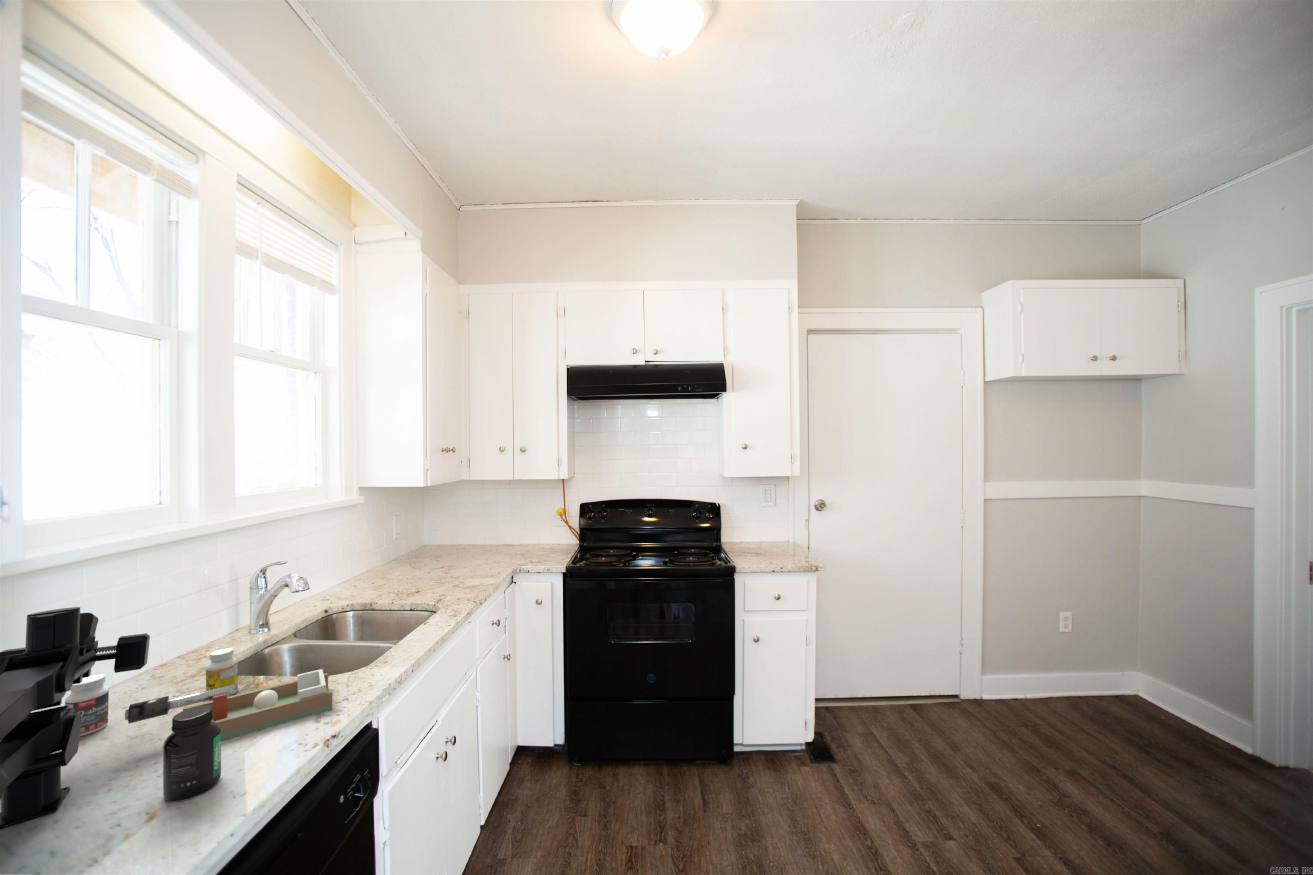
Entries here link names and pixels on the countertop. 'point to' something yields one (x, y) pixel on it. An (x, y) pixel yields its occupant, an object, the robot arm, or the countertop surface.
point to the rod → (180, 704)
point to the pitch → (269, 709)
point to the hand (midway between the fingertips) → (91, 649)
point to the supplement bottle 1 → (191, 754)
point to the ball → (265, 699)
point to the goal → (311, 683)
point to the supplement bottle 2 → (222, 670)
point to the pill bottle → (90, 703)
